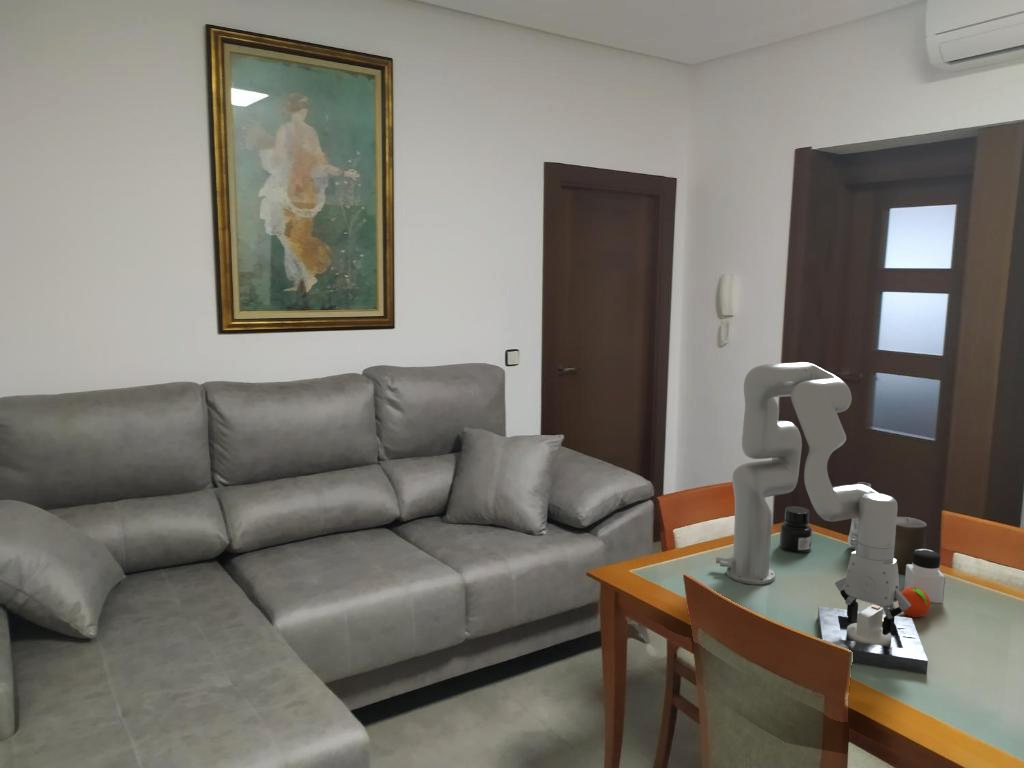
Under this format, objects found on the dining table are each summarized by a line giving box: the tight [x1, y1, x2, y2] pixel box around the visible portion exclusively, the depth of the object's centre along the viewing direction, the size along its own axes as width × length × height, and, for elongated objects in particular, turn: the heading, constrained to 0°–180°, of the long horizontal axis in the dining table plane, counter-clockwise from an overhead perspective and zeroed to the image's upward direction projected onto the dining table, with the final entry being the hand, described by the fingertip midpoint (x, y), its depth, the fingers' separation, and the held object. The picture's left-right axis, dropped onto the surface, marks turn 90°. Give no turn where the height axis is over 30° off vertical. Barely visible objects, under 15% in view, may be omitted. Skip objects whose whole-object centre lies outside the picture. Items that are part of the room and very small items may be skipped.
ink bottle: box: [779, 505, 813, 554], centre depth 225 cm, size 10×9×12 cm
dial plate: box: [817, 605, 929, 675], centre depth 169 cm, size 20×20×3 cm
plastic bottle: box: [847, 482, 872, 551], centre depth 223 cm, size 6×7×20 cm
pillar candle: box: [894, 516, 928, 576], centre depth 209 cm, size 10×10×15 cm
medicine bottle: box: [903, 548, 946, 604], centre depth 192 cm, size 7×7×12 cm
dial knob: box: [847, 604, 892, 646], centre depth 168 cm, size 9×9×7 cm
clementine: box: [897, 587, 931, 618], centre depth 182 cm, size 8×7×7 cm
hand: (869, 626), depth 169 cm, fingers open, 7 cm apart
